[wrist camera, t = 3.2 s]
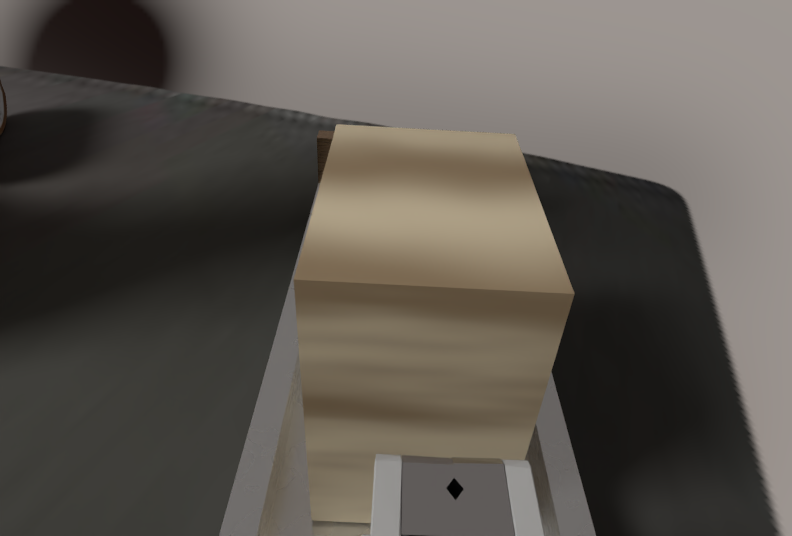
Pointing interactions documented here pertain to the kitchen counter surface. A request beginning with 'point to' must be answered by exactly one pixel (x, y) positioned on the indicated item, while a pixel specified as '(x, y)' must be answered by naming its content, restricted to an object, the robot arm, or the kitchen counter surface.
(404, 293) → the block
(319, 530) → the bay
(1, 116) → the tin
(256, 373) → the kitchen counter surface
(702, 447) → the kitchen counter surface
